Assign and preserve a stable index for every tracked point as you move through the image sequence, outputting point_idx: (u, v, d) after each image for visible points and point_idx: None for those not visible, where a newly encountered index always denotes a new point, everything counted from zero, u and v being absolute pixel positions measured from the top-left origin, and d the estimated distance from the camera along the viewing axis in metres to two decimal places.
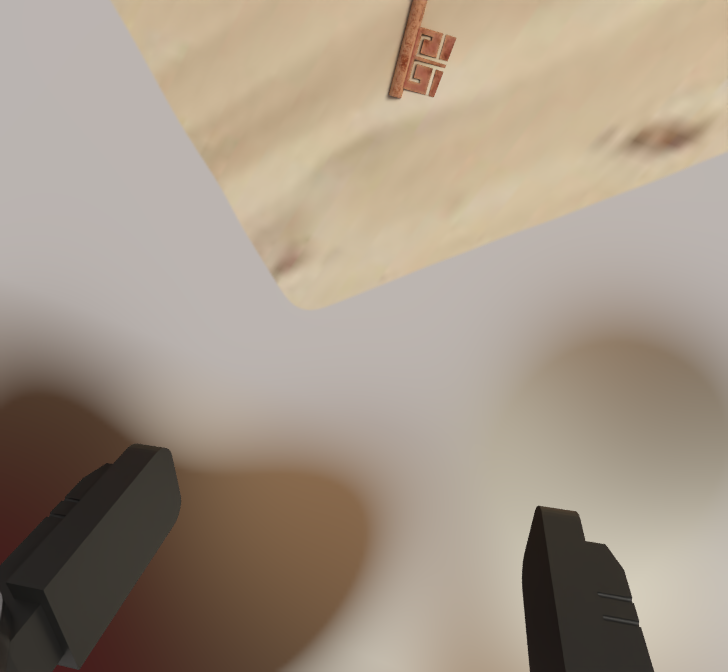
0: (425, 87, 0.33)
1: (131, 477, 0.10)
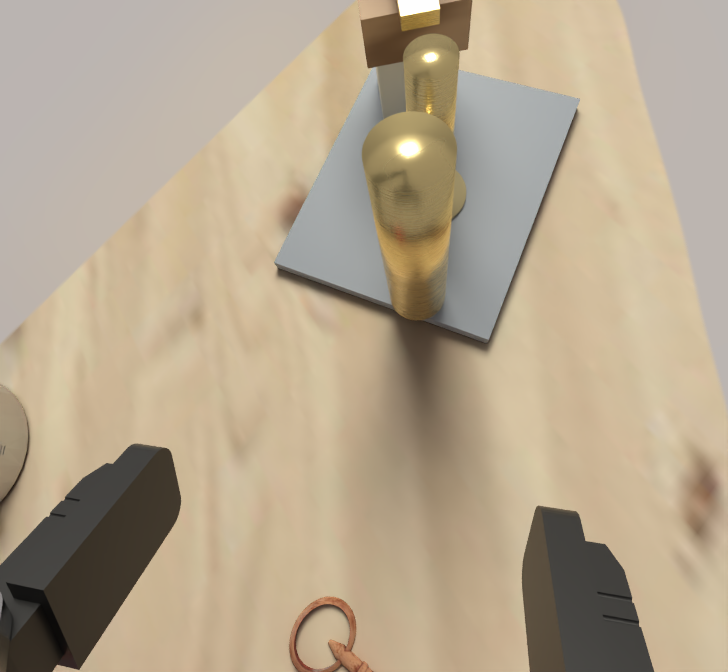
0: None
1: (131, 477, 0.10)
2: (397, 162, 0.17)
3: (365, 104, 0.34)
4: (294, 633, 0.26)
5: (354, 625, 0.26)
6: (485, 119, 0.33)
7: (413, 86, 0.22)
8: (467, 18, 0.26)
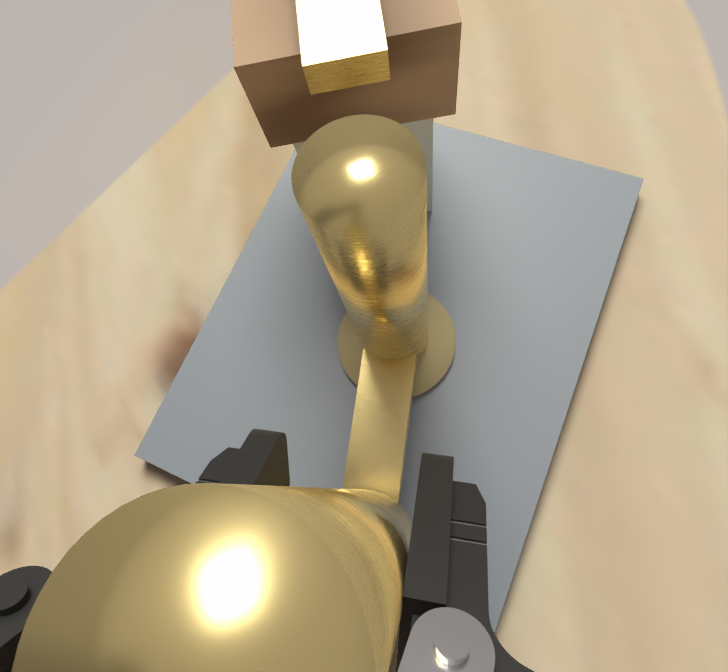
0: None
1: (262, 459, 0.11)
2: None
3: None
4: None
5: None
6: (488, 210, 0.20)
7: (319, 237, 0.09)
8: (452, 61, 0.13)
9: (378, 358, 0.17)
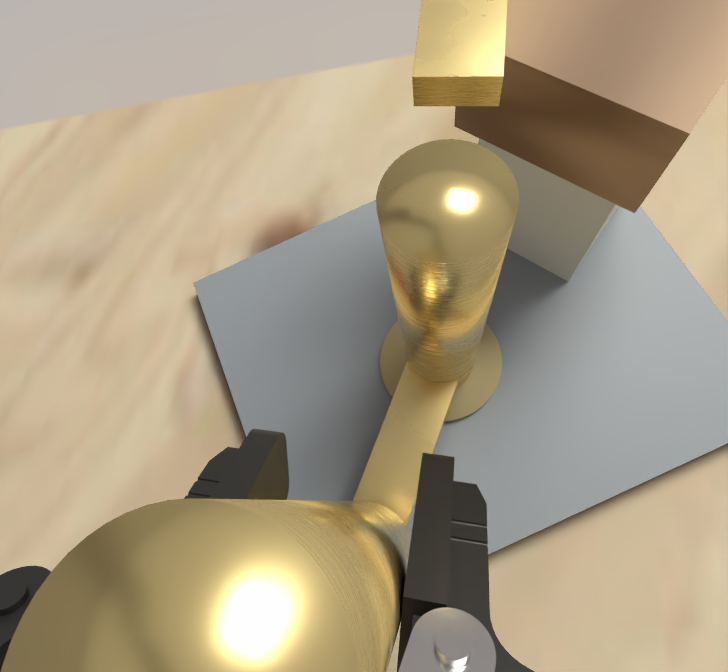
0: None
1: (261, 459, 0.11)
2: None
3: None
4: None
5: None
6: (617, 320, 0.18)
7: (392, 255, 0.09)
8: (659, 164, 0.11)
9: (419, 376, 0.17)
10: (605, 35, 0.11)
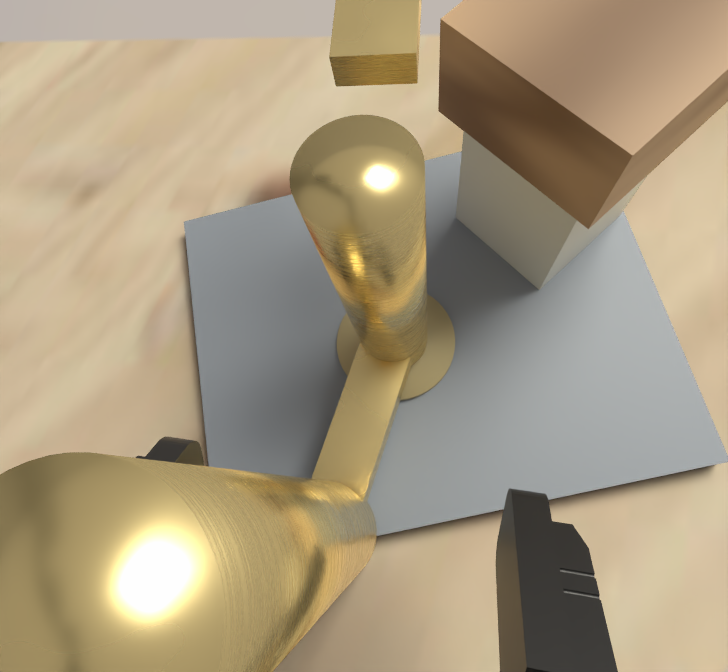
0: None
1: None
2: None
3: None
4: None
5: None
6: (577, 337, 0.18)
7: (310, 230, 0.09)
8: (608, 182, 0.11)
9: (371, 356, 0.17)
10: (582, 42, 0.11)
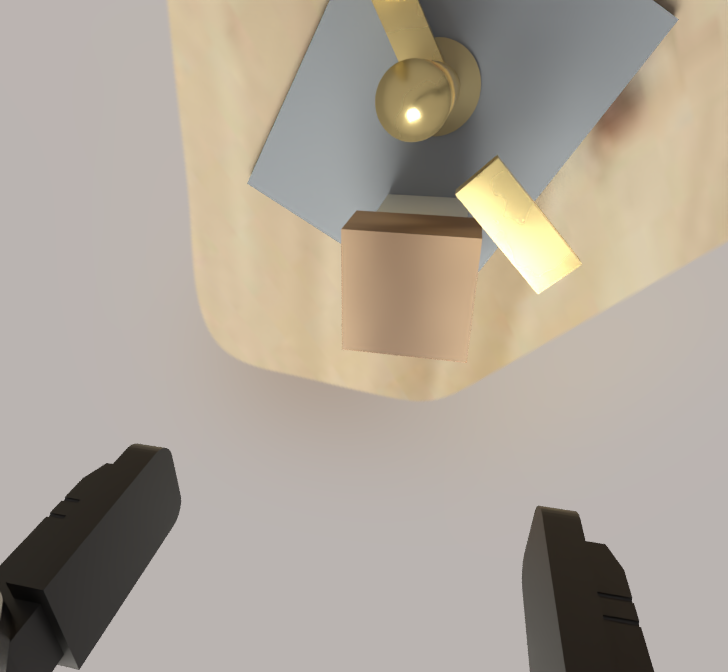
0: None
1: (131, 477, 0.10)
2: None
3: (482, 245, 0.28)
4: None
5: None
6: (349, 184, 0.28)
7: None
8: (350, 222, 0.21)
9: None
10: (405, 270, 0.20)
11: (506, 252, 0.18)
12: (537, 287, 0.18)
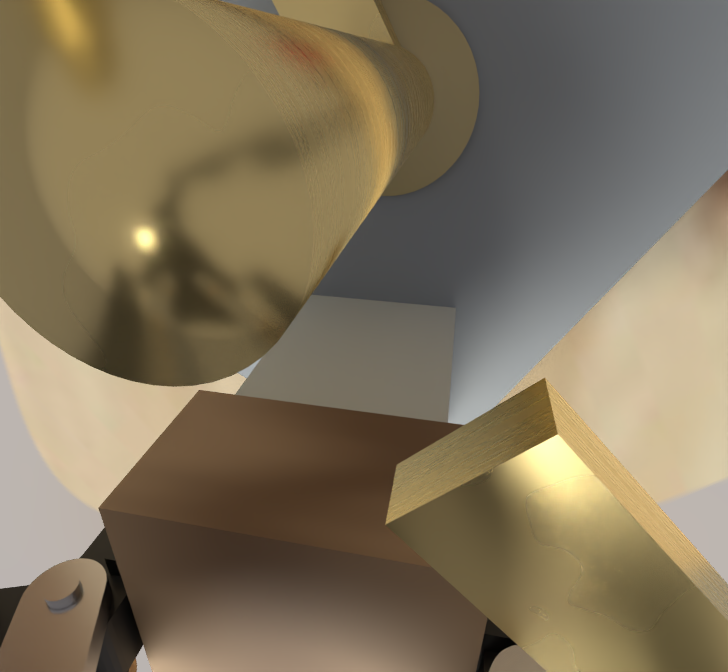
0: None
1: None
2: None
3: (482, 385, 0.15)
4: None
5: None
6: None
7: None
8: (151, 457, 0.08)
9: None
10: (282, 611, 0.07)
11: None
12: None
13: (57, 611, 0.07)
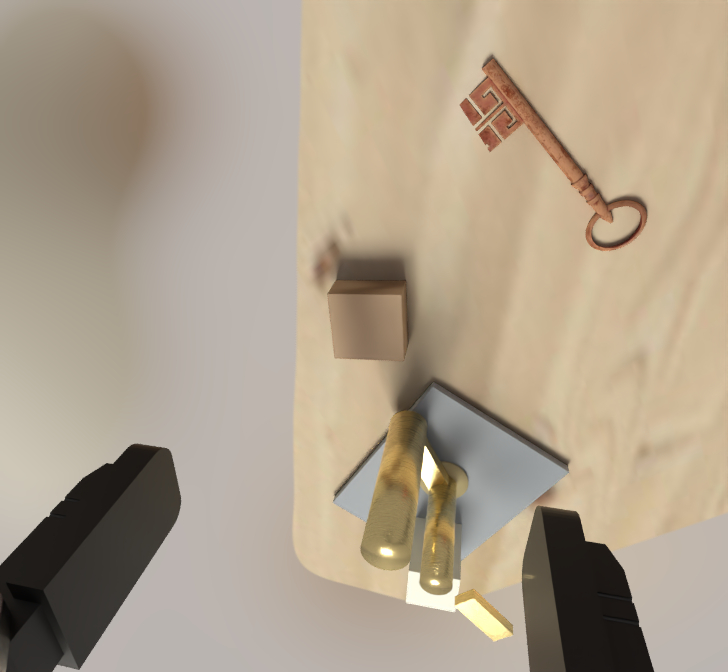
0: (474, 99, 0.32)
1: (131, 477, 0.10)
2: (386, 546, 0.32)
3: (469, 544, 0.49)
4: (637, 233, 0.33)
5: (587, 229, 0.34)
6: None
7: (438, 565, 0.37)
8: (333, 288, 0.38)
9: (440, 484, 0.44)
10: (363, 313, 0.37)
11: (478, 626, 0.39)
12: (493, 639, 0.39)
13: None
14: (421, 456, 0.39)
